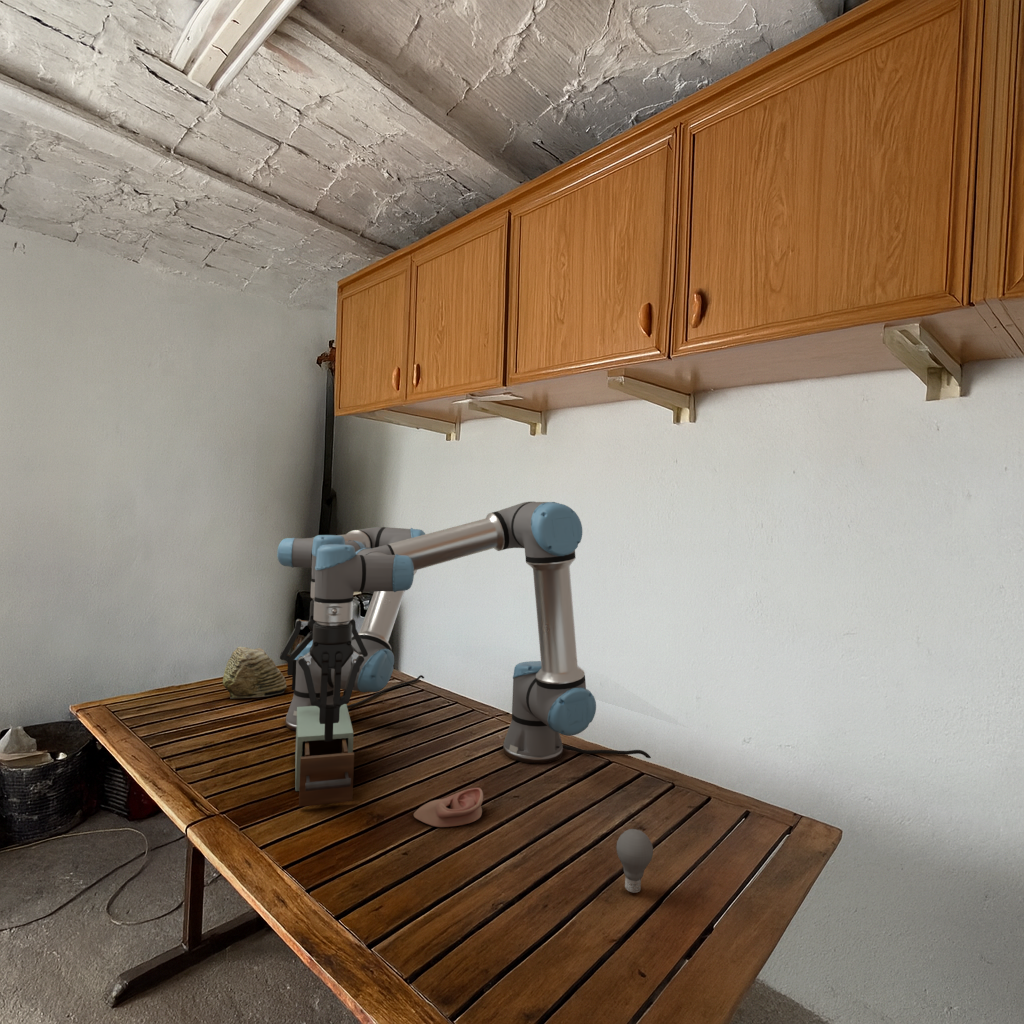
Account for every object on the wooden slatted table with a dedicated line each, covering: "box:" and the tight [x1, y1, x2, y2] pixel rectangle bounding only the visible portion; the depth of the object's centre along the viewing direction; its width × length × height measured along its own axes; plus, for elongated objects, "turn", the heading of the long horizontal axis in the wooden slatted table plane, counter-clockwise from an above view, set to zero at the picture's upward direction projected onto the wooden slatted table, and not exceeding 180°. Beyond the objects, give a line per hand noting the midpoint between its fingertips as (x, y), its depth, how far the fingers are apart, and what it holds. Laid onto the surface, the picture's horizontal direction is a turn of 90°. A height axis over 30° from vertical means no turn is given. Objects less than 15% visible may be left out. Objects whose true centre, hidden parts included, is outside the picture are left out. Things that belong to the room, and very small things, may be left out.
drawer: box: [298, 738, 355, 808], centre depth 135 cm, size 24×10×10 cm, turn 19°
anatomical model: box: [413, 787, 484, 828], centre depth 129 cm, size 13×4×12 cm
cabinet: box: [294, 704, 354, 792], centre depth 147 cm, size 20×12×12 cm, turn 19°
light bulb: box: [615, 828, 654, 894], centre depth 106 cm, size 6×6×10 cm
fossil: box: [222, 646, 288, 699], centre depth 198 cm, size 9×18×15 cm, turn 132°
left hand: (323, 687), depth 153 cm, fingers open, 13 cm apart
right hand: (328, 738), depth 127 cm, fingers closed
